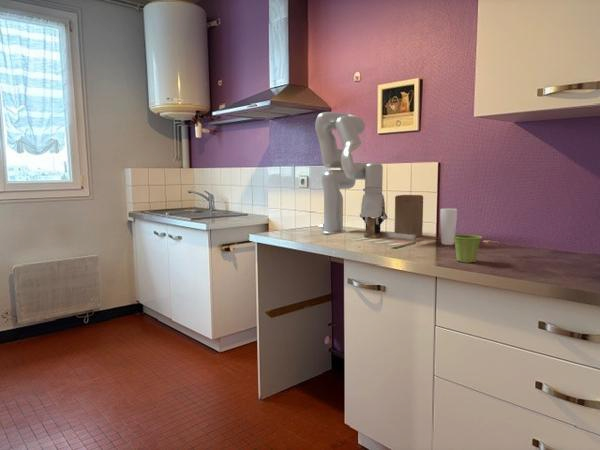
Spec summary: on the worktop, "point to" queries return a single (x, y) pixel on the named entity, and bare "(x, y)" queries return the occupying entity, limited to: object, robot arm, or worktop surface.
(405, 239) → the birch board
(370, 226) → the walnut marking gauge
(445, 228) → the drinking glass
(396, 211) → the wooden block
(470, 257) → the plant pot
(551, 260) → the worktop surface
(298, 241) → the worktop surface
